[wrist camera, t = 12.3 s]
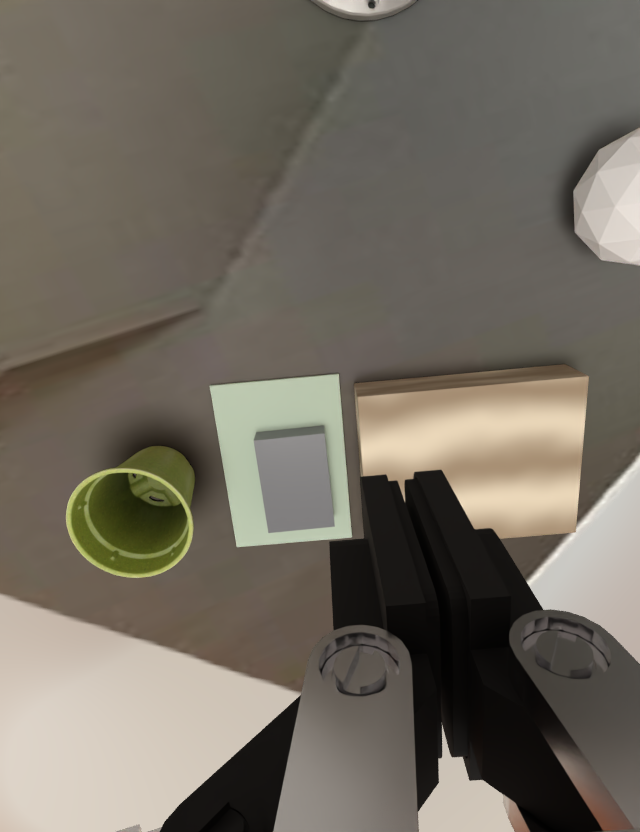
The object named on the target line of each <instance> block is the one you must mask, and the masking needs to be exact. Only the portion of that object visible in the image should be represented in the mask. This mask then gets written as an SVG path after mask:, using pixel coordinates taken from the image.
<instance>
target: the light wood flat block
mask: <svg viewBox="0 0 640 832" xmlns="http://www.w3.org/2000/svg"><path fill="white" fill-rule="evenodd" d="M588 379H589V376H587V375H585V374H583V373H581V372H579V371H577V370H575V369H573V368H571V367H569V366H567V365H565V364H562V365H551V366H540V367H529V368H518V369H507V370H496V371H485V372H474V373H463V374H452V375H441V376H430V377H419V378H408V379H397V380H386V381H375V382H364V383H354V392H355V406H356V420H357V433H358V447H359V461H360V475H361V477H362V476H373V475H385V474H386V475H387V478H388V481H395V480H397V481H398V483H399V486H400V489H401V492H402V495H403V498H404V501H405V488H404V483H405V480H407V479H413V476H414V472H419V471H431V470H442V471H443V473H444V475H445V477H446V478H447V480H448V482H449V484H450V486H451V487H452V489H453V491H454V493H455V495H456V497H457V498H458V500H459V502H460V504H461V506H462V507H463V509H464V511H465V513H466V515H467V517H468V518H469V520H470V522H471V524H472V526H473V527H474V529H484V528H491V529H493V530H494V531H495V532H496V534H497V535H498V537H499V539H501V538H513V537H525V536H537V535H549V534H561V533H572V532H576V521H577V509H578V497H579V485H580V474H581V462H582V450H583V438H584V426H585V414H586V402H587V391H588Z"/></svg>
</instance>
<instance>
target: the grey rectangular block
mask: <svg viewBox="0 0 640 832" xmlns="http://www.w3.org/2000/svg"><path fill="white" fill-rule="evenodd" d="M254 447H255V453H256V459H257V465H258V472H259V478H260V484H261V490H262V496H263V503H264V509H265V515H266V521H267V528H268V533H275V532H285V531H295V530H306V529H316V528H326V527H335V522H334V511H333V502H332V493H331V484H330V475H329V466H328V457H327V448H326V439H325V429H324V425H321V426H312V427H302V428H292V429H283V430H273V431H263V432H256V434H255V438H254Z"/></svg>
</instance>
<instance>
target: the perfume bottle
mask: <svg viewBox="0 0 640 832" xmlns="http://www.w3.org/2000/svg"><path fill="white" fill-rule="evenodd" d="M573 196H574V226H575V233H576V234H577V235H578V236H579V237H580V238H581V239H582V240H583V242H584V243H585V244H586V245H587V246H588V247H589V248H590V249H591V250H592V251H593V252H594V253H595V254H596V255H597V256H598V258H599V259H600V260H604V261H611V262H619V263H626V264H633V265H640V127H639V128H638V129H636V130H634V131H632V132H630V133H628V134H627V135H625V136H623V137H621V138H619V139H618V140H616V141H614V142H612V143H610V144H608V145H607V146H605V147H603V148H601V149H599V150H598V152H597V154H596V155H595V157H594V158H593V160H592V162H591V163H590V165H589V167H588V168H587V170H586V171H585V173H584V175H583V176H582V178H581V179H580V181H579V183H578V184H577V186H576V187H575V189H574V191H573Z"/></svg>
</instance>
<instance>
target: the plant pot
mask: <svg viewBox="0 0 640 832" xmlns="http://www.w3.org/2000/svg"><path fill="white" fill-rule="evenodd" d="M133 473H136V478H134V477H133ZM194 484H195V474H194V470H193V468H192V467H191V465H190V464H189V462H188V461H187V460H186V458H185V457H184V456H183V455H182V454H181V453H180V452H178V451H176V450H174V449H172V448H169V447H165V446H151V447H148V448H145V449H143V450H141V451H139V452H137V453H136V454H135V455H133V456H132V457H130V458H129V459H128V460H126V461H125V462H123V463H122V464H120V465H119V466H118V467H116V468H109V469H105V470H102V471H99V472H97V473H95V474H93V475H91V476H89V477H88V478H86V479H85V480H84V481H83V482H82V483H80V484H79V485H78V486H77V488H76V489H75V490H74V492H73V493H72V495H71V497H70V499H69V502H68V505H67V511H66V523H67V528H68V532H69V535H70V537H71V540H72V541H73V543H74V545H75V546H76V548H77V549H78V550H79V552H80V553H81V554H82V555H83V556H84V557H85V558H86V559H87V560H88V561H90V562H91V563H92V564H94V565H95V566H97V567H98V568H100V569H102V570H104V571H107V572H109V573H111V574H114V575H118V576H124V577H132V578H141V577H148V576H154V575H157V574H160V573H162V572H165V571H167V570H168V569H170V568H172V567H173V566H174V565H176V564H177V563H178V562H179V561H180V560H181V559H182V558H183V557H184V555H185V554H186V552H187V550H188V549H189V546H190V544H191V541H192V536H193V528H194V525H193V517H192V513H191V510H190V506H191V500H192V495H193V490H194ZM150 496H153V497H156V498H159V499H161V500H162V499H163V500H164V501H154V500H152V499H150V498H149V497H150Z"/></svg>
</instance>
